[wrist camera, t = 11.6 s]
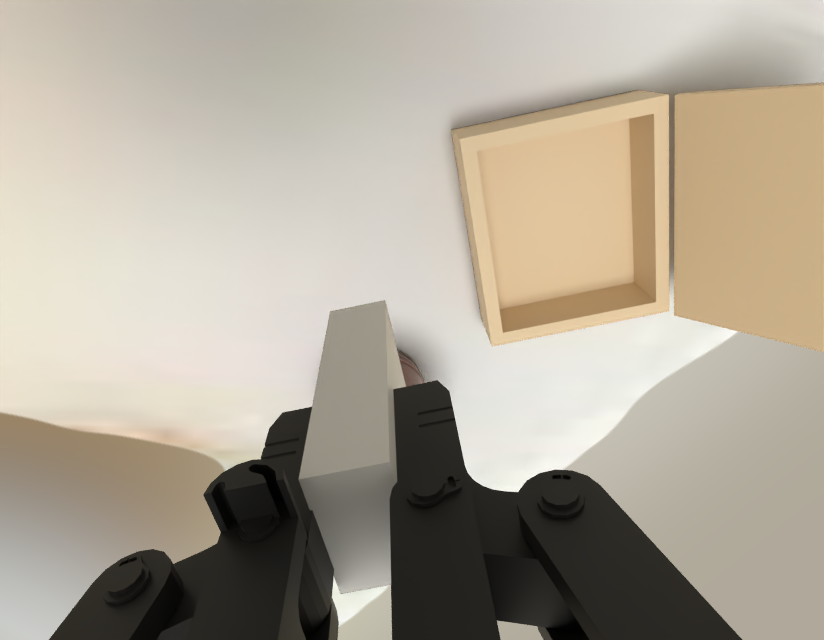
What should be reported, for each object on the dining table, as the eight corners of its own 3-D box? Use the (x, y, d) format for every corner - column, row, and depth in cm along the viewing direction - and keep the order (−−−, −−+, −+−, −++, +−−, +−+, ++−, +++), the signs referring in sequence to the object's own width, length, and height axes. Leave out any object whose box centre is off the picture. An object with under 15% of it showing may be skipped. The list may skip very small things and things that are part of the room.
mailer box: (451, 129, 42) (459, 139, 38) (637, 89, 42) (669, 94, 37) (481, 319, 49) (491, 346, 45) (642, 286, 49) (669, 311, 44)
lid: (967, 75, 26) (991, 60, 28) (674, 95, 37) (706, 83, 38) (905, 372, 33) (927, 344, 34) (674, 315, 43) (700, 296, 45)
